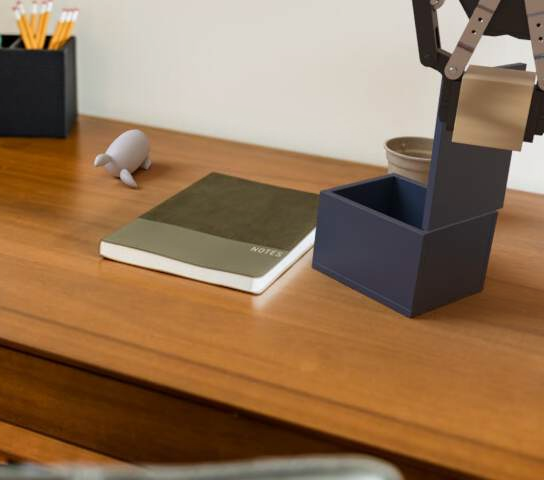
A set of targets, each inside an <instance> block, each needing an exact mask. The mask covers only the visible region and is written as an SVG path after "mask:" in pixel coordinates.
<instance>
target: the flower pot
mask: <svg viewBox="0 0 544 480" xmlns="http://www.w3.org/2000/svg"><path fill="white" fill-rule="evenodd" d="M433 140H434V137H429V136H419V135H418V136H417V135H402V136H401V135H400V136H394V137H390V138H388V139H385V140H384V141H383V149H384V150H385V158H386V160H387V174H391V173H396V174H399V175H402V176H404V177H407V178H410V179H412V180H415V181H418V182H421V183H423V184H426V185H428V178H429V170H430V163H431V155H432V148H433Z"/></svg>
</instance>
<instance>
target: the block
mask: <svg viewBox="0 0 544 480" xmlns="http://www.w3.org/2000/svg"><path fill="white" fill-rule="evenodd" d="M465 71H466V72H465V74H464V76H463V77H462V83H461V89H460V95H459V101H458V107H457V113H456V119H455V125H454V131H453V138H452V142H457V143H463V144H470V145H477V146H484V147H491V148H498V149H505V150H512V152H519V153H520V152H522V149H523V143H524V142H523V139H524V133H525V128H526V123H527V118H528V113H529V108H530V103H531V98H532V93H533V88H534V84H536V79H537V75H536V71H531V70H530V71H529V70H526V71H522V70H513V69H504V68H496V67H495V66H487V65H486V66H485V65H477V64H469V65H468V67H467V69H465Z"/></svg>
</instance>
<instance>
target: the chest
mask: <svg viewBox="0 0 544 480" xmlns="http://www.w3.org/2000/svg"><path fill="white" fill-rule="evenodd" d="M427 186H428V185H426V184H423V183H421V182H418V181H415V180H412V179H410V178H407V177H404V176H402V175H399V174H396V173H391V174H388V173H386V174H383V175H379V176H375V177H370V178H367V179H363V180H357V181H355V182H351V183H347V184H342V185H339V186H335V187H330V188H327V189H321V190H319V197H318V205H317V215H316V223H315V231H314V232H315V233H314V241H313V250H312V259H311V268H312V269H314V270H316V271H317V272H319V273H322V274H323V275H325V276H327V277H329V278H331V279H333V280H335V281H337V282H339V283H341V284H343V285H345V286H347V287H349V288H351V289H352V290H354V291H356V292H358V293H360V294H363V295H364V296H366V297H368V298H371V299H372V300H374V301H376V302H378V303H379V304H382V305H383V306H385V307H387V308H389V309H391V310H393V311H395V312H397V313H399V314H401V315H403V316H405V317H406V318H408V319H412V318H415V317H417V316H420V315H422V314H426V313H427V312H431V311H433V310H435V309H438V308H441V307H443V306H446V305H448V304H451V303H453V302H456V301H459V300H461V299H464V298H466V297H469V296H472V295H474V294H477V293H479V292H482V291H484V288H485V282H486V277H487V272H488V266H489V262H490V257H491V252H492V248H493V247H492V246H493V242H494V236H495V231H496V228H497V227H496V226H497V223H498V216H499V211H498V210H496V211H492V212H489V213H486V214H483V215H480V216H476V217H473V218H470V219H467V220H463V221H460V222H457V223H454V224H451V225H447V226H444V227H441V228H438V229H435V230H431V231H426V230H423V229H422V223H423V216H424V208H425V201H426V193H427Z"/></svg>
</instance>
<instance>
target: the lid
mask: <svg viewBox="0 0 544 480" xmlns="http://www.w3.org/2000/svg"><path fill="white" fill-rule="evenodd" d="M527 65H528V64H527V63H524V62H515V63H508V64H503V65H502V64H501V65H496V66H494V67H496V68H504V69H513V70H522V71H527ZM465 72H466V70H465V71H464V74H465ZM442 87H443V77H442V76H441V80H440V87H439V88H440V89H439V96H438V102H437V111H436V118H435V125H434V133H433V138H434V140H433V148H432V155H431V163H430V170H429V178H428V186H427V193H426V201H425V208H424V216H423V223H422V229H423V230H426V231H431V230H435V229H438V228H441V227H444V226H447V225H451V224H454V223H457V222H460V221H463V220H467V219H470V218H473V217H476V216H480V215H483V214H486V213H489V212H492V211H498V210H499V211H500V210H503V208H504V203H505V200H506V199H505V198H506V192H507V186H508V180H509V174H510V168H511V162H512V156H513V151H512V150H505V149H498V148H491V147H484V146H477V145H470V144H463V143H457V142H452V138H453V132H452V131H446V122H440V120H439V116H438V112H439V106H440V99H441V93H442Z"/></svg>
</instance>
